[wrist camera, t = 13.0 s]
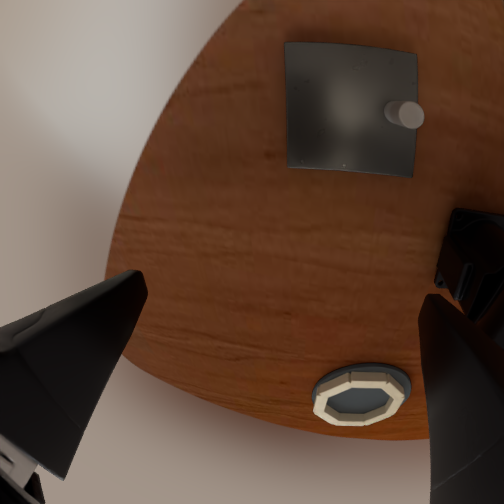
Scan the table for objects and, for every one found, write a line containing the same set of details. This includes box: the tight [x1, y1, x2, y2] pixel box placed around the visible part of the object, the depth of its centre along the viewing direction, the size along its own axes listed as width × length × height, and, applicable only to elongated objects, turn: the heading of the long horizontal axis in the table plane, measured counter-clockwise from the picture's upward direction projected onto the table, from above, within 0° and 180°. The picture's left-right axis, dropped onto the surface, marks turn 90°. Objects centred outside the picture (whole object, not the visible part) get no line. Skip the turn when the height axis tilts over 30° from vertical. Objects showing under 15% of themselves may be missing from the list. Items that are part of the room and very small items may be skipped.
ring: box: [313, 372, 405, 426], centre depth 27 cm, size 10×10×1 cm
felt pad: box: [312, 363, 411, 414], centre depth 28 cm, size 11×11×1 cm
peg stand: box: [284, 42, 424, 178], centre depth 14 cm, size 8×8×4 cm
